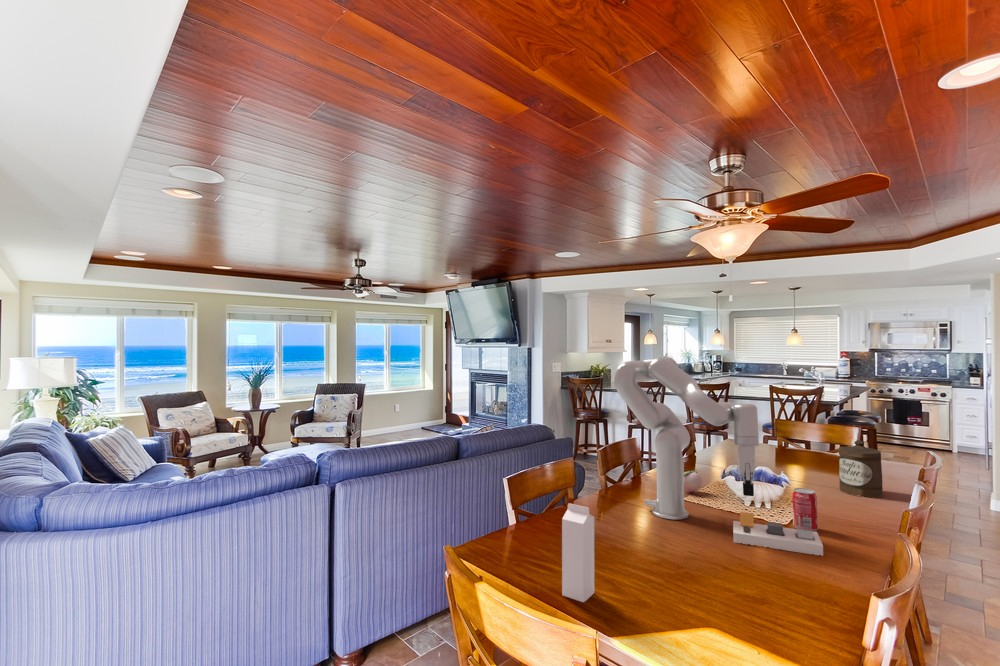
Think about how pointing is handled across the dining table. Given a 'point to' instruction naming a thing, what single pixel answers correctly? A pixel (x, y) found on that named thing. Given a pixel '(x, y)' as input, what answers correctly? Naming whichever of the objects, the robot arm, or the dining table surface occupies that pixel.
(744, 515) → the thick orange block
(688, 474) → the decorative fruit
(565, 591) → the milk
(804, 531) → the button grey
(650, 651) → the dining table surface
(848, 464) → the wooden container
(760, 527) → the panel
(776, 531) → the button black
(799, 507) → the soda can
